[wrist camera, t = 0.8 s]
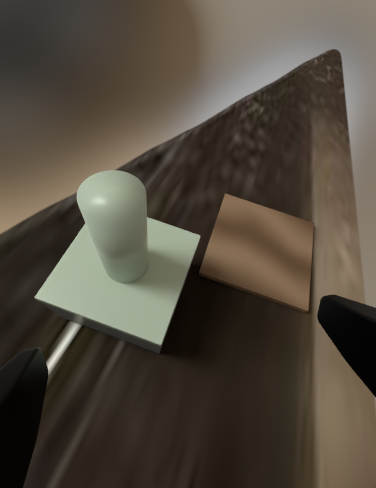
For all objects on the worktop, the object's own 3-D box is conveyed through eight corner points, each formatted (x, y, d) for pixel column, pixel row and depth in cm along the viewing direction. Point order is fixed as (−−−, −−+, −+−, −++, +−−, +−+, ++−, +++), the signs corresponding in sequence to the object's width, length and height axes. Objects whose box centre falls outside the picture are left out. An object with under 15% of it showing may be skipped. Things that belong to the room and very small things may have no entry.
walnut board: (305, 312, 24) (308, 311, 23) (198, 274, 24) (199, 272, 24) (311, 226, 29) (313, 223, 29) (224, 196, 30) (225, 193, 29)
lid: (160, 348, 17) (167, 316, 9) (43, 304, 18) (-47, 237, 10) (197, 245, 22) (223, 164, 14) (103, 212, 22) (76, 115, 14)
